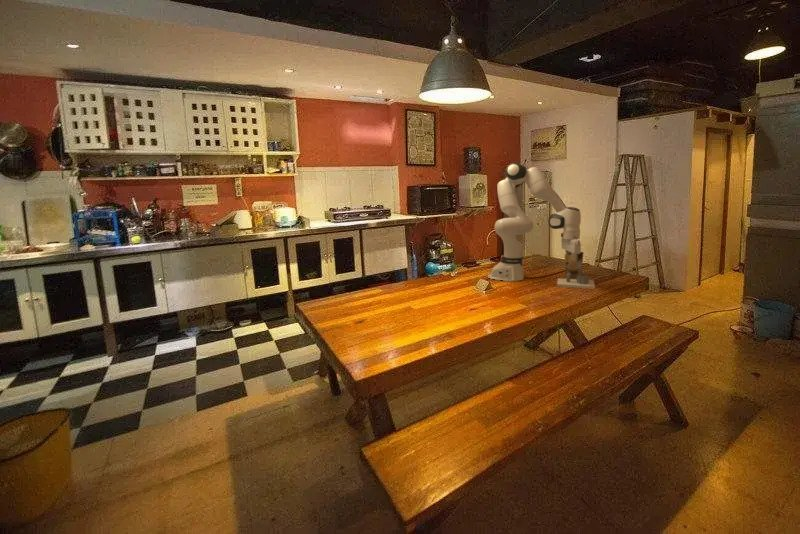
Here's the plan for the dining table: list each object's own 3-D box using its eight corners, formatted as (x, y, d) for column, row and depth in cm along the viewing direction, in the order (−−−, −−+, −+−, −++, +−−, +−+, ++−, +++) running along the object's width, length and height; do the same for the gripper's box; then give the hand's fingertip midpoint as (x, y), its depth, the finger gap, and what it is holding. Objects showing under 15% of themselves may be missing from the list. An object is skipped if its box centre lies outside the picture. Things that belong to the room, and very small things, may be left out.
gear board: (557, 286, 233) (557, 274, 231) (557, 280, 244) (558, 269, 243) (594, 288, 225) (595, 277, 223) (593, 282, 237) (594, 271, 235)
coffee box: (564, 277, 251) (566, 252, 247) (566, 275, 256) (568, 250, 252) (580, 278, 246) (582, 253, 242) (581, 276, 251) (583, 251, 248)
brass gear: (564, 262, 231) (564, 254, 230) (564, 260, 236) (565, 252, 235) (576, 263, 228) (576, 255, 227) (576, 260, 234) (577, 253, 233)
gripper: (584, 237, 218) (583, 262, 221) (570, 233, 238) (569, 255, 241) (572, 238, 219) (571, 262, 222) (559, 233, 239) (558, 255, 242)
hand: (570, 258), depth 232 cm, fingers closed on brass gear, 6 cm apart
